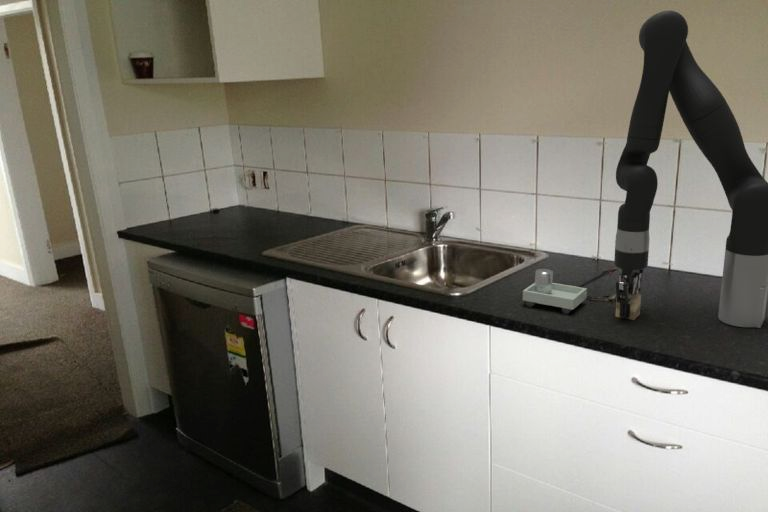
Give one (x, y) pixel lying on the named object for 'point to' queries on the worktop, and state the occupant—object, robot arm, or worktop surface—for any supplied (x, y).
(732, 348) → the worktop surface
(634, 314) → the brass block
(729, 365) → the worktop surface
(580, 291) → the footed soap dish
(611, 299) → the fantasy weapon
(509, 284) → the worktop surface
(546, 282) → the steel cylinder
